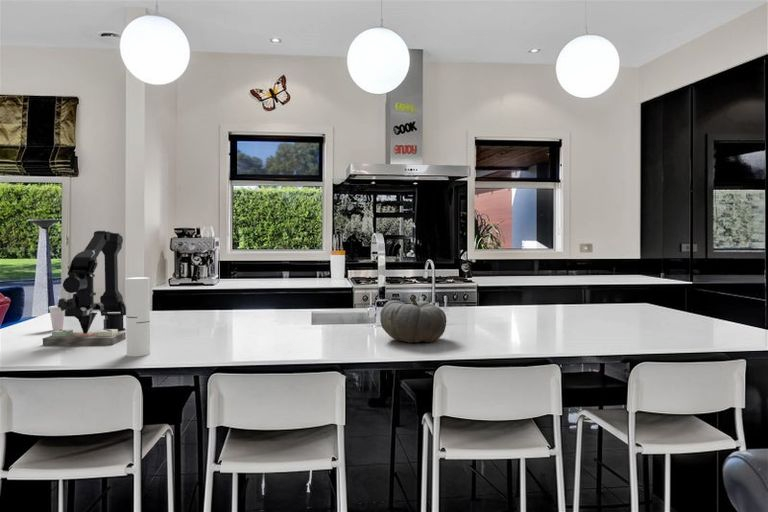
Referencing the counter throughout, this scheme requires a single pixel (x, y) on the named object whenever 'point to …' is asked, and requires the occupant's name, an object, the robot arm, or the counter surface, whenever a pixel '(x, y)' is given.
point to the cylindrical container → (138, 316)
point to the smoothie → (57, 317)
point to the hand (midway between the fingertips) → (85, 332)
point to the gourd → (413, 321)
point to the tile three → (108, 332)
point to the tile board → (84, 340)
